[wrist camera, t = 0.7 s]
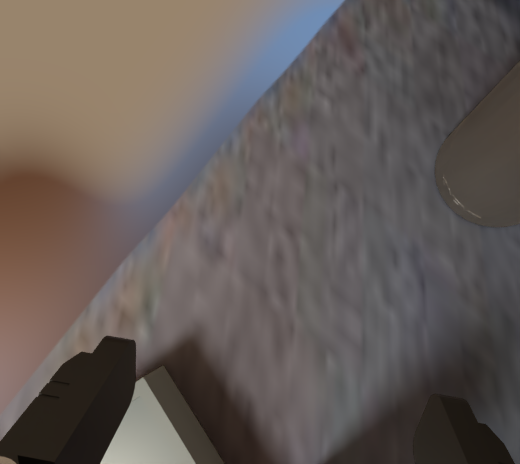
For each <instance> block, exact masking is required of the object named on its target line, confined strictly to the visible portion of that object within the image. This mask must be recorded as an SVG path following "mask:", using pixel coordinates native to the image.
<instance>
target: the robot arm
mask: <svg viewBox="0 0 520 464" xmlns="http://www.w3.org/2000/svg"><path fill="white" fill-rule="evenodd" d="M435 178H436V184H437V187H438V189H439V192H440V194H441V196H442V198H443V199H444V201H445V202H446V204H447V205H448V206H449V207H450V208H451V209H452V210H453V211H454V212H455V213H456V214H458V215H459V216H461V217H463V218H464V219H466V220H468V221H470V222H473V223H475V224H478V225H482V226H488V227H507V226H512V225H517V224H520V61H519V62H518V63H517V64H516V65H515V66H514V67H513V68H512V69H511V71H510V72H509V73H508V74H507V75H506V76H505V77H504V78H503V79H502V80H501V81H500V82H499V83H498V84H497V85H496V86H495V87H494V89H493V90H492V91H491V92H490V93H489V94H488V95H487V96H486V97H485V98H484V99H483V100H482V101H481V102H480V103H479V104H478V105H477V107H476V108H475V109H474V110H473V111H472V112H471V113H470V114H469V115H468V116H467V117H466V118H465V119H464V120H463V121H462V122H461V123H460V124H459V125H458V127H457V128H456V129H455V130H454V131H453V132H452V133H451V134H450V135H449V136H448V137H447V139H446V140H445V141H444V143H443V144H442V146H441V148H440V149H439V152H438V155H437V158H436V162H435ZM135 379H136V343H135V341H134V340H130V339H124V338H118V337H112V336H106V337H104V338H103V339H102V341H101V342H100V343H99V345H98V346H97V348H96V349H95V350H94V352H93V353H86V352H80V353H79V354H77V355H76V356H74V357H73V358H71V359H70V360H68V361H67V362H65V363H64V364H63V365H62V366H61V367H60V368H59V369H58V371H57V372H56V373H55V374H54V376H53V377H52V378H51V379H50V382H49V383H47V384H46V386H45V387H44V388H43V389H42V390H41V392H40V393H39V396H38V397H36V398H35V399H34V400H33V402H32V403H31V404H30V405H29V407H28V408H27V409H26V410H25V411H24V413H23V414H22V415H21V416H20V418H19V419H18V420H17V421H16V423H15V424H14V425H13V426H12V428H11V429H10V430H9V431H8V432H7V434H6V435H5V436H4V437H3V439H2V440H1V441H0V464H100V463H101V461H102V459H103V457H104V455H105V453H106V451H107V449H108V447H109V445H110V443H111V441H112V439H113V437H114V435H115V433H116V431H117V430H118V428H119V426H120V424H121V422H122V420H123V418H124V416H125V414H126V412H127V410H128V408H129V406H130V403H131V401H132V398H133V394H134V390H135ZM413 453H414V459H415V463H416V464H515V463H514V461H513V460H512V458H511V456H510V454H509V452H508V450H507V449H506V447H505V445H504V443H503V442H502V441H501V440H500V439H499V438H498V437H497V436H496V435H495V434H494V433H493V431H492V430H491V429H490V428H489V427H488V426H487V425H486V424H481V423H478V422H477V420H476V418H475V416H474V414H473V412H472V410H471V408H470V406H469V404H468V402H467V401H466V400H464V399H461V398H456V397H450V396H444V395H439V394H433V395H431V397H430V398H429V400H428V403H427V405H426V408H425V410H424V413H423V415H422V418H421V420H420V422H419V425H418V427H417V430H416V432H415V435H414V441H413Z"/></svg>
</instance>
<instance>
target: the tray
mask: <svg viewBox="0 0 520 464" xmlns="http://www.w3.org/2000/svg"><path fill="white" fill-rule="evenodd" d="M100 464H224V462H223V461H222V459H221V457H220V456H219V454H218V453H217V451H216V449H215V448H214V446H213V444H212V443H211V441H210V440H209V438H208V436H207V435H206V433H205V432H204V430H203V428H202V427H201V425H200V424H199V422H198V420H197V419H196V417H195V415H194V414H193V412H192V411H191V409H190V407H189V406H188V404H187V403H186V401H185V399H184V398H183V396H182V395H181V393H180V391H179V390H178V388H177V386H176V385H175V383H174V382H173V380H172V378H171V377H170V375H169V374H168V372H167V370H166V369H165V367H164V366H161V367H159V368H158V369H156V370H154V371H153V372H151V373H149V374H147V375H146V376H144V377H142V378H141V379H140V380H138V381H137V382H136V383H135V390H134V394H133V398H132V401H131V403H130V406H129V408H128V410H127V412H126V414H125V416H124V418H123V420H122V422H121V424H120V426H119V428H118V430H117V431H116V433H115V435H114V437H113V439H112V441H111V443H110V445H109V447H108V449H107V451H106V453H105V455H104V457H103V459H102V461H101V463H100Z"/></svg>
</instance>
